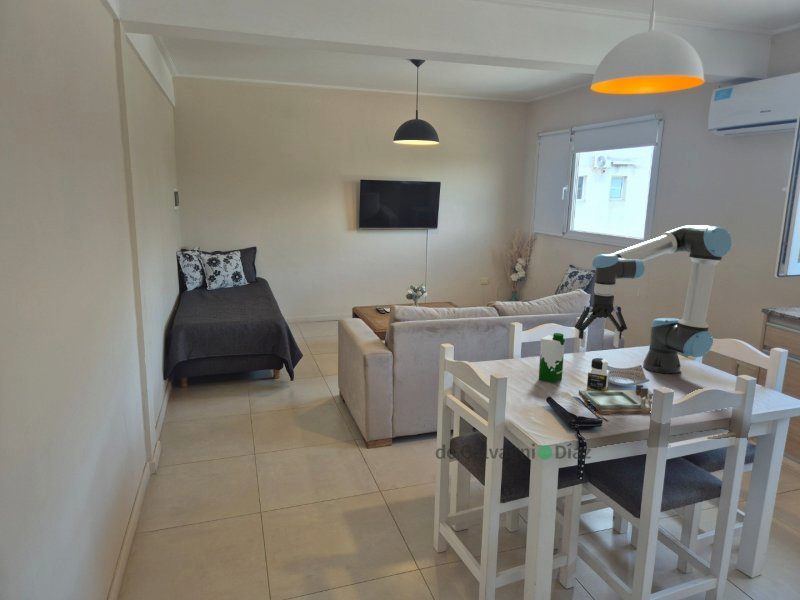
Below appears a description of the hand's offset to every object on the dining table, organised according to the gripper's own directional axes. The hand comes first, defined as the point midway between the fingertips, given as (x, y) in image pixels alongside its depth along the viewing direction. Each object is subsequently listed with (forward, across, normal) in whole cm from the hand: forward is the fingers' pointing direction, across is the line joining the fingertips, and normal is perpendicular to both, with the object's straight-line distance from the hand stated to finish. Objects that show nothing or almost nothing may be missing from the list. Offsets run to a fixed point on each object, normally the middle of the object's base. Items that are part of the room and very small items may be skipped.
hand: (599, 346), depth 215 cm
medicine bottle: (+17, -1, +1) cm, 17 cm away
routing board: (+17, -5, +17) cm, 24 cm away
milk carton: (+17, +15, -9) cm, 25 cm away
